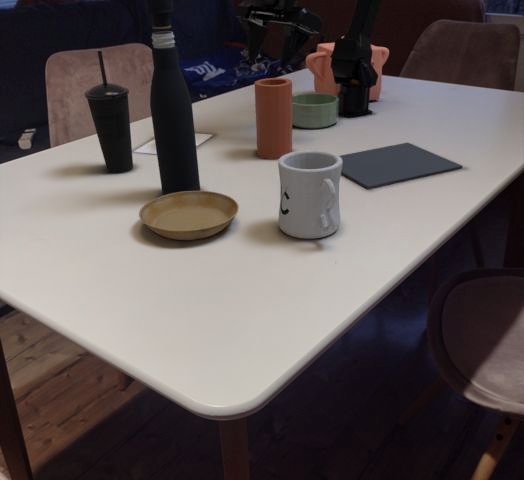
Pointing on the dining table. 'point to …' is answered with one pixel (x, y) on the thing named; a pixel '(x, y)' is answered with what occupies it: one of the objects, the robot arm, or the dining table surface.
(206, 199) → the plant saucer
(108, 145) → the drinking cup
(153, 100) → the wine bottle
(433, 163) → the felt mat
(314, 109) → the sage bowl
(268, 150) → the terracotta jar
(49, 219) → the dining table surface
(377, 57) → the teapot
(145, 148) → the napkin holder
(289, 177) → the mug
